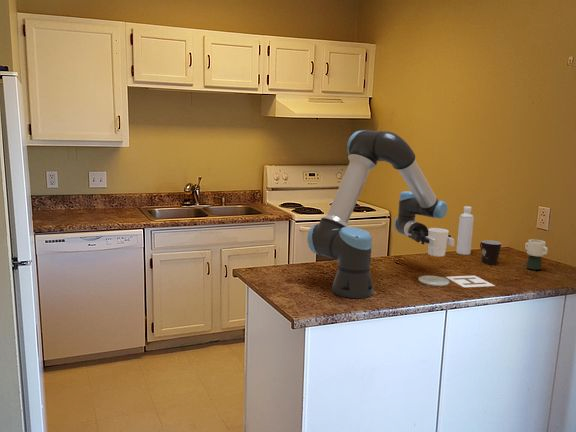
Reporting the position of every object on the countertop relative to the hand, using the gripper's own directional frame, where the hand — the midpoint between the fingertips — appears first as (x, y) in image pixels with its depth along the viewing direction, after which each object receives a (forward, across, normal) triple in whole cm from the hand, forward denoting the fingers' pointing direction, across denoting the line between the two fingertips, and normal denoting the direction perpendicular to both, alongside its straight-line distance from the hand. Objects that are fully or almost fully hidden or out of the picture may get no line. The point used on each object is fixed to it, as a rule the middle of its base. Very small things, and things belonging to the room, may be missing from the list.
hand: (444, 243), depth 200 cm
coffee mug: (-29, -42, -17) cm, 54 cm away
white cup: (-5, 0, -6) cm, 8 cm away
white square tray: (-3, -15, -17) cm, 23 cm away
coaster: (-5, 0, -17) cm, 18 cm away
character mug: (-16, -56, -17) cm, 61 cm away
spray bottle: (-47, -40, -17) cm, 64 cm away
